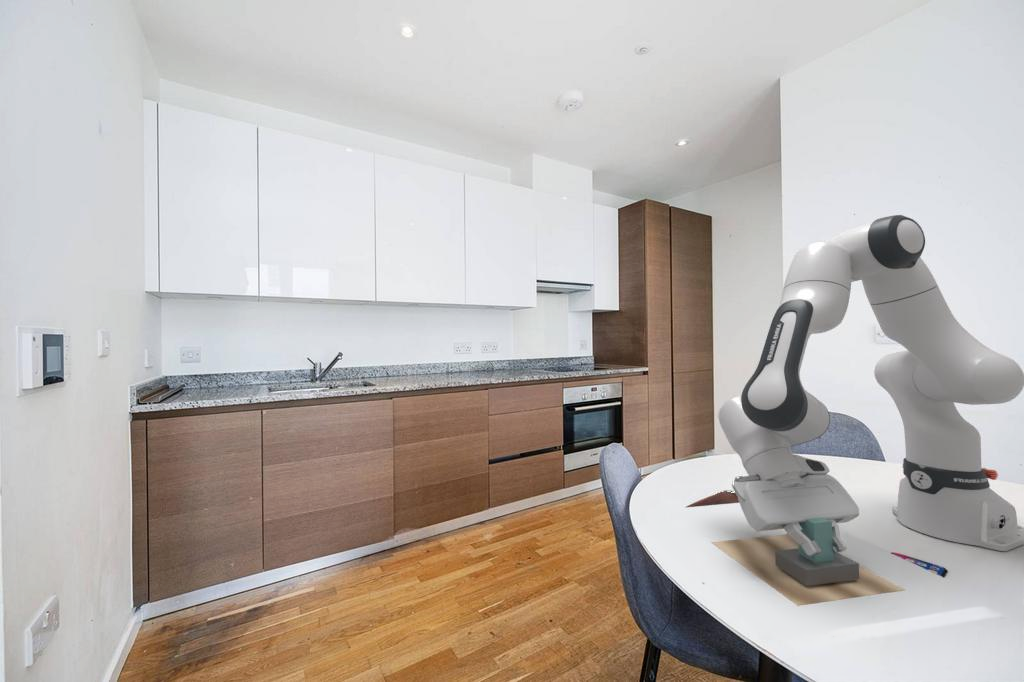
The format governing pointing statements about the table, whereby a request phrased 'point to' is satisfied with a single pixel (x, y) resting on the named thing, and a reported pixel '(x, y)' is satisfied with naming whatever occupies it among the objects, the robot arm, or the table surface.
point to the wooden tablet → (717, 499)
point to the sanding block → (817, 557)
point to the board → (762, 563)
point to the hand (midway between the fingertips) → (827, 552)
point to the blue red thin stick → (924, 565)
